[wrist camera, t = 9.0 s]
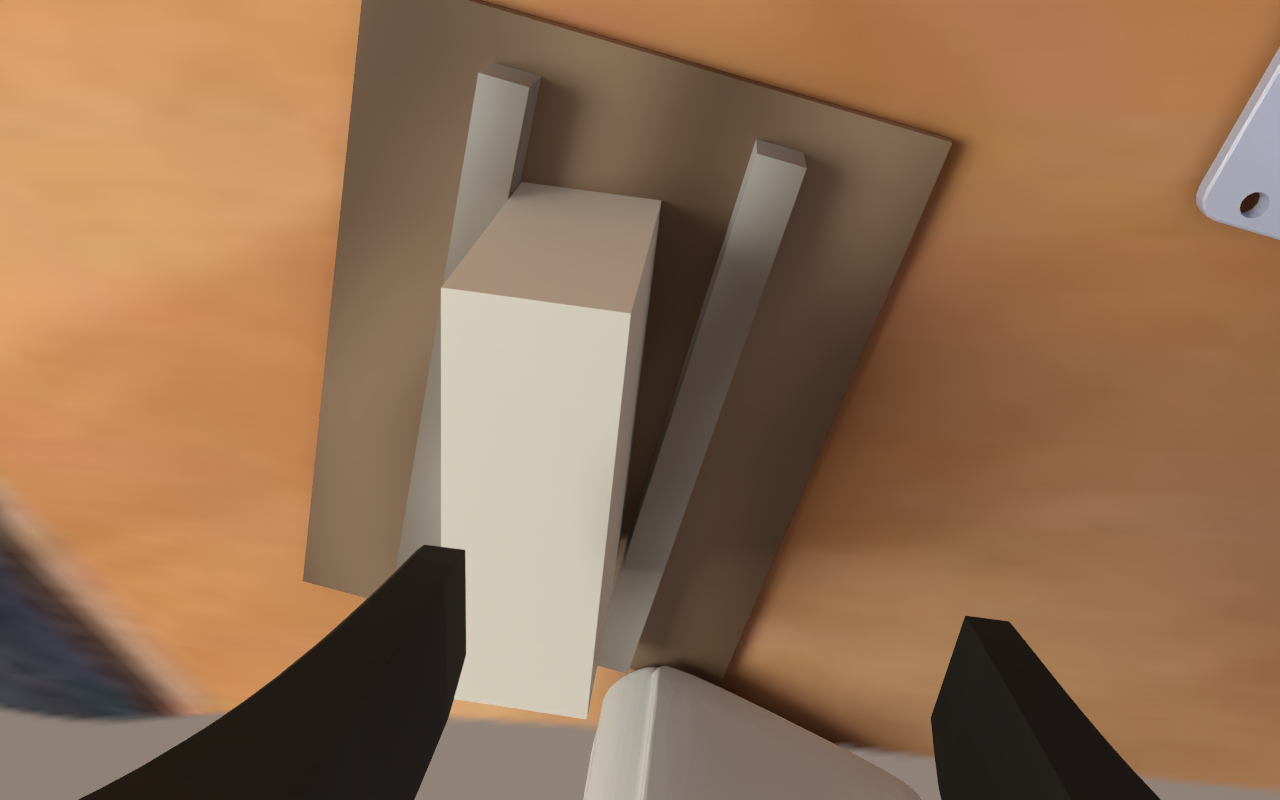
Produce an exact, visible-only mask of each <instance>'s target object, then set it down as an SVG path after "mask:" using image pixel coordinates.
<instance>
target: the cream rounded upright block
mask: <svg viewBox="0 0 1280 800" xmlns="http://www.w3.org/2000/svg"><path fill="white" fill-rule="evenodd" d="M583 800H921V799H920V797H919V796H918V795H917V794H916V793H915V792H914V790H912V789H911V788H910V787H909V786H907V785H906V784H905V783H903V782H902V781H900V780H899V779H897V778H896V777H894V776H893V775H891V774H889V773H887V772H885V771H884V770H882V769H880V768H878V767H876V766H875V765H873V764H871V763H869V762H867V761H866V760H864V759H862V758H860V757H858V756H856V755H854V754H853V753H851V752H849V751H847V750H845V749H843V748H841V747H839V746H837V745H836V744H834V743H832V742H830V741H828V740H826V739H824V738H822V737H820V736H818V735H816V734H814V733H812V732H810V731H808V730H806V729H804V728H802V727H800V726H798V725H796V724H794V723H792V722H790V721H788V720H786V719H784V718H783V717H781V716H778V715H776V714H774V713H772V712H770V711H768V710H766V709H764V708H762V707H760V706H758V705H756V704H754V703H752V702H750V701H748V700H746V699H744V698H741V697H739V696H737V695H735V694H733V693H731V692H729V691H727V690H725V689H722V688H720V687H718V686H716V685H714V684H711V683H709V682H707V681H705V680H702V679H700V678H698V677H696V676H693V675H691V674H688V673H686V672H683V671H680V670H677V669H674V668H671V667H669V666H661V667H658V668H656V667H646V668H641V669H638V670H636V671H633V672H631V673H629V674H627V675H625V676H623V677H622V678H620V679H619V680H618V681H617V682H615V683H614V684H613V685H612V686H611V688H610V689H609V690H608V692H607V693H606V695H605V697H604V700H603V703H602V708H601V714H600V720H599V726H598V729H597V732H596V735H595V739H594V743H593V748H592V753H591V758H590V764H589V769H588V776H587V782H586V787H585V793H584V799H583Z"/></svg>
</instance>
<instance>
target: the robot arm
mask: <svg viewBox="0 0 1280 800" xmlns="http://www.w3.org/2000/svg"><path fill="white" fill-rule="evenodd" d="M1254 192H1259V195H1260V198H1259V201H1258V203H1257V204H1256V205H1255V207H1254V208H1253V209H1251V210H1249V211H1246V212H1241V211H1240V206H1241V202H1242V201H1243V200H1244V199H1245V198H1246V197H1247V196H1248V195H1250V194H1252V193H1254ZM1196 204H1197V206H1198V208H1199V209H1200V211H1201V212H1202V213H1203V214H1204V215H1206V216H1207V217H1209V218H1211V219H1213V220H1214V221H1217V222H1220V223H1224V224H1227V225H1230V226H1234V227H1237V228H1241V229H1244V230H1247V231H1251V232H1254V233H1258V234H1261V235H1264V236H1268V237H1271V238H1275V239H1278V240H1280V47H1279V49H1278V51H1277V52H1276V54H1275V56H1274V58H1273V59H1272V61H1271V63H1270V64H1269V66H1268V68H1267V70H1266V71H1265V73H1264V75H1263V77H1262V78H1261V80H1260V82H1259V84H1258V85H1257V87H1256V89H1255V91H1254V92H1253V94H1252V96H1251V97H1250V99H1249V101H1248V103H1247V104H1246V106H1245V108H1244V110H1243V111H1242V113H1241V115H1240V117H1239V118H1238V120H1237V122H1236V124H1235V125H1234V127H1233V129H1232V130H1231V132H1230V134H1229V136H1228V137H1227V139H1226V141H1225V143H1224V144H1223V146H1222V148H1221V150H1220V151H1219V153H1218V155H1217V157H1216V158H1215V160H1214V162H1213V163H1212V165H1211V167H1210V169H1209V170H1208V172H1207V174H1206V176H1205V177H1204V179H1203V181H1202V183H1201V184H1200V186H1199V189H1198V191H1197V194H1196ZM465 657H466V576H465V550H462V549H454V548H447V547H439V546H432V545H423V546H422V547H420V548H419V549H417V550H416V551H415V552H414V553H413V554H412V555H411V556H410V557H409V558H408V559H407V560H406V561H405V562H404V563H403V564H402V565H401V566H400V567H399V568H398V569H397V570H396V571H395V572H394V573H393V574H392V575H391V576H390V577H389V578H388V579H387V580H386V581H385V582H384V583H383V584H382V585H381V586H380V587H379V588H378V589H377V590H376V591H375V592H374V593H373V594H372V595H371V596H370V597H369V598H368V599H366V600H365V601H364V602H363V603H362V604H361V605H360V606H359V607H358V608H357V609H356V610H355V611H354V612H352V613H351V614H350V615H349V616H348V617H347V618H346V619H345V620H344V621H342V622H341V623H340V624H339V625H338V626H337V627H336V628H335V629H334V630H333V631H331V632H330V633H329V634H328V635H327V636H326V637H325V638H324V639H322V640H321V641H320V642H319V643H318V644H316V645H315V646H314V647H313V648H312V649H310V650H309V651H308V652H307V653H305V654H304V655H303V656H302V657H301V658H299V659H298V660H297V661H296V662H294V663H293V664H292V665H291V666H290V667H288V668H287V669H286V670H285V671H283V672H282V673H281V674H280V675H279V676H277V677H276V678H275V679H273V680H272V681H271V682H269V683H268V684H267V685H265V686H264V687H263V688H261V689H260V690H259V691H258V692H256V693H255V694H253V695H252V696H251V697H249V698H248V699H247V700H245V701H244V702H242V703H241V704H240V705H238V706H237V707H235V708H234V709H232V710H231V711H229V712H228V713H227V714H225V715H224V716H222V717H221V718H219V719H218V720H216V721H215V722H213V723H212V724H210V725H209V726H207V727H206V728H204V729H203V730H201V731H199V732H198V733H196V734H195V735H193V736H191V737H190V738H188V739H187V740H185V741H183V742H182V743H180V744H178V745H177V746H175V747H173V748H172V749H170V750H168V751H167V752H165V753H163V754H162V755H160V756H158V757H157V758H155V759H153V760H152V761H150V762H149V763H147V764H145V765H143V766H142V767H140V768H138V769H136V770H134V771H133V772H131V773H129V774H127V775H125V776H123V777H121V778H120V779H118V780H116V781H114V782H112V783H110V784H108V785H106V786H105V787H103V788H101V789H99V790H97V791H95V792H93V793H91V794H89V795H87V796H85V797H83V798H81V799H79V800H414V799H415V797H416V794H417V792H418V790H419V787H420V785H421V782H422V780H423V778H424V775H425V773H426V771H427V768H428V765H429V763H430V761H431V759H432V756H433V754H434V751H435V749H436V746H437V744H438V742H439V739H440V737H441V734H442V732H443V729H444V727H445V725H446V722H447V720H448V717H449V713H450V710H451V706H452V703H453V700H454V696H455V693H456V689H457V686H458V682H459V679H460V675H461V671H462V668H463V664H464V660H465ZM931 724H932V734H933V743H934V753H935V762H936V769H937V777H938V785H939V790H940V795H941V799H942V800H1160V799H1159V797H1158V796H1157V795H1156V794H1155V793H1154V792H1153V791H1152V790H1151V789H1150V788H1149V787H1148V786H1147V785H1146V784H1145V783H1144V781H1143V780H1142V779H1141V778H1140V777H1139V776H1138V775H1137V774H1136V773H1135V772H1134V771H1133V770H1132V769H1131V768H1130V766H1129V765H1128V764H1127V763H1126V762H1125V761H1124V760H1123V759H1122V758H1121V756H1120V755H1119V754H1118V753H1117V752H1116V751H1115V750H1114V749H1113V747H1112V746H1111V745H1110V744H1109V743H1108V742H1107V741H1106V739H1105V738H1104V737H1103V736H1102V735H1101V734H1100V732H1099V731H1098V730H1097V729H1096V728H1095V727H1094V725H1093V724H1092V723H1091V722H1090V721H1089V719H1088V718H1087V717H1086V716H1085V715H1084V714H1083V712H1082V711H1081V710H1080V709H1079V707H1078V706H1077V705H1076V704H1075V703H1074V701H1073V700H1072V699H1071V698H1070V697H1069V695H1068V694H1067V693H1066V692H1065V690H1064V689H1063V688H1062V687H1061V685H1060V684H1059V683H1058V682H1057V680H1056V679H1055V678H1054V677H1053V676H1052V674H1051V673H1050V672H1049V671H1048V669H1047V668H1046V667H1045V666H1044V664H1043V663H1042V662H1041V661H1040V659H1039V658H1038V657H1037V655H1036V654H1035V653H1034V652H1033V650H1032V649H1031V648H1030V647H1029V645H1028V644H1027V643H1026V642H1025V640H1024V639H1023V638H1022V637H1021V635H1020V634H1019V633H1018V632H1017V631H1016V629H1015V628H1014V627H1013V626H1012V625H1011V623H1010V622H1008V621H1001V620H993V619H986V618H978V617H970V616H965V619H964V621H963V624H962V627H961V630H960V633H959V636H958V639H957V642H956V645H955V648H954V651H953V654H952V657H951V660H950V663H949V666H948V669H947V672H946V675H945V678H944V681H943V684H942V687H941V690H940V693H939V695H938V698H937V701H936V704H935V707H934V710H933V713H932V716H931Z"/></svg>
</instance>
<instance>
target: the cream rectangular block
mask: <svg viewBox="0 0 1280 800" xmlns="http://www.w3.org/2000/svg"><path fill="white" fill-rule="evenodd" d="M660 209H661V200H654V199H647V198H639V197H632V196H624V195H616V194H609V193H601V192H594V191H586V190H579V189H571V188H564V187H556V186H549V185H541V184H534V183H526V182H521V183H520V185H519V186H518V187H517V189H516V190H515V191H514V193H513V194H512V195H511V196H510V198H509V199H508V200H507V202H506V203H505V204H504V206H503V207H502V208H501V210H500V211H499V212H498V213H497V215H496V216H495V217H494V219H493V220H492V221H491V223H490V224H489V225H488V227H487V228H486V229H485V230H484V232H483V233H482V234H481V236H480V237H479V238H478V240H477V241H476V242H475V244H474V245H473V246H472V247H471V249H470V250H469V251H468V253H467V254H466V255H465V257H464V258H463V259H462V261H461V262H460V263H459V264H458V266H457V267H456V268H455V270H454V271H453V272H452V274H451V275H450V276H449V277H448V279H447V280H446V281H445V283H444V284H443V285H442V287H441V547H447V548H454V549H462V550H465V576H466V657H465V660H464V664H463V668H462V671H461V675H460V679H459V682H458V686H457V689H456V693H455V696H454V699H457V700H464V701H470V702H477V703H484V704H490V705H497V706H503V707H510V708H516V709H523V710H529V711H536V712H542V713H549V714H555V715H562V716H568V717H575V718H581V719H587V716H588V710H589V705H590V700H591V695H592V689H593V684H594V679H595V674H596V668H597V663H598V658H599V653H600V648H601V642H602V637H603V632H604V627H605V621H606V616H607V611H608V606H609V600H610V595H611V590H612V585H613V580H614V574H615V569H616V564H617V559H618V553H619V548H620V543H621V537H622V529H623V520H624V512H625V504H626V495H627V487H628V478H629V470H630V461H631V453H632V445H633V436H634V428H635V419H636V411H637V403H638V394H639V386H640V377H641V369H642V360H643V352H644V344H645V335H646V327H647V318H648V310H649V301H650V293H651V285H652V276H653V268H654V259H655V251H656V243H657V234H658V226H659V217H660Z"/></svg>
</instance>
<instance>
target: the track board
mask: <svg viewBox="0 0 1280 800" xmlns="http://www.w3.org/2000/svg"><path fill="white" fill-rule="evenodd" d="M952 143H953V142H952V141H951V140H950V139H949V138H947V137H944V136H941V135H937V134H934V133H930V132H927V131H924V130H920V129H917V128H913V127H910V126H907V125H903V124H900V123H896V122H893V121H890V120H886V119H883V118H879V117H876V116H873V115H869V114H866V113H862V112H859V111H856V110H852V109H849V108H845V107H842V106H839V105H835V104H832V103H828V102H825V101H822V100H818V99H815V98H811V97H808V96H805V95H801V94H798V93H794V92H791V91H788V90H784V89H781V88H777V87H774V86H771V85H767V84H764V83H760V82H757V81H753V80H750V79H747V78H743V77H740V76H736V75H733V74H730V73H726V72H723V71H719V70H716V69H713V68H709V67H706V66H702V65H699V64H696V63H692V62H689V61H685V60H682V59H679V58H675V57H672V56H668V55H665V54H662V53H658V52H655V51H651V50H648V49H645V48H641V47H638V46H634V45H631V44H628V43H624V42H621V41H617V40H614V39H611V38H607V37H604V36H600V35H597V34H594V33H590V32H587V31H583V30H580V29H577V28H573V27H570V26H566V25H563V24H559V23H556V22H553V21H549V20H546V19H542V18H539V17H536V16H532V15H529V14H525V13H522V12H519V11H515V10H512V9H508V8H505V7H502V6H498V5H495V4H491V3H488V2H485V1H481V0H362V6H361V15H360V25H359V35H358V45H357V55H356V64H355V74H354V84H353V94H352V104H351V114H350V123H349V133H348V143H347V153H346V163H345V173H344V182H343V192H342V202H341V212H340V222H339V232H338V241H337V251H336V261H335V271H334V281H333V291H332V300H331V310H330V320H329V330H328V340H327V350H326V359H325V369H324V379H323V389H322V399H321V408H320V418H319V428H318V438H317V448H316V458H315V467H314V477H313V487H312V497H311V507H310V517H309V526H308V536H307V546H306V556H305V566H304V576H303V581H305V582H309V583H312V584H316V585H320V586H324V587H327V588H331V589H335V590H339V591H342V592H346V593H350V594H354V595H357V596H361V597H365V598H369V597H370V596H371V595H372V594H373V593H374V592H375V591H376V590H377V589H378V588H379V587H380V586H381V585H382V584H383V583H384V582H385V581H386V580H387V579H388V578H389V577H390V576H391V575H392V574H393V573H394V572H395V571H396V570H397V569H398V568H399V567H400V566H401V565H402V564H403V563H404V562H405V561H406V560H407V559H408V558H409V557H410V556H411V555H412V554H413V553H414V552H415V551H416V550H417V549H419V548H420V547H422V546H423V545H432V546H439V547H441V287H442V285H443V284H444V283H445V281H446V280H447V279H448V277H449V276H450V275H451V274H452V272H453V271H454V270H455V268H456V267H457V266H458V264H459V263H460V262H461V261H462V259H463V258H464V257H465V255H466V254H467V253H468V251H469V250H470V249H471V247H472V246H473V245H474V244H475V242H476V241H477V240H478V238H479V237H480V236H481V234H482V233H483V232H484V230H485V229H486V228H487V227H488V225H489V224H490V223H491V221H492V220H493V219H494V217H495V216H496V215H497V213H498V212H499V211H500V210H501V208H502V207H503V206H504V204H505V203H506V202H507V200H508V199H509V198H510V196H511V195H512V194H513V193H514V191H515V190H516V189H517V187H518V186H519V185H520V183H521V182H526V183H534V184H541V185H549V186H556V187H564V188H571V189H579V190H586V191H594V192H601V193H609V194H616V195H624V196H632V197H639V198H647V199H654V200H661V209H660V217H659V226H658V234H657V243H656V251H655V259H654V268H653V276H652V285H651V293H650V301H649V310H648V318H647V327H646V335H645V344H644V352H643V360H642V369H641V377H640V386H639V394H638V403H637V411H636V419H635V428H634V436H633V445H632V453H631V461H630V470H629V478H628V487H627V495H626V504H625V512H624V520H623V529H622V537H621V543H620V548H619V553H618V559H617V564H616V569H615V574H614V580H613V585H612V590H611V595H610V600H609V606H608V611H607V616H606V621H605V627H604V632H603V637H602V642H601V648H600V653H599V658H598V663H597V665H598V666H602V667H605V668H609V669H613V670H617V671H620V672H624V673H628V671H629V668H631V669H634V670H638V669H641V668H646V667H656V668H658V667H661V666H669V667H671V668H674V669H677V670H680V671H683V672H686V673H688V674H691V675H693V676H696V677H698V678H700V679H702V680H705V681H707V682H709V683H711V684H714V685H716V686H718V687H719V686H720V684H721V681H722V679H723V677H724V674H725V672H726V670H727V667H728V665H729V663H730V660H731V658H732V656H733V653H734V651H735V649H736V646H737V644H738V642H739V639H740V637H741V635H742V632H743V630H744V628H745V625H746V623H747V621H748V618H749V616H750V614H751V611H752V609H753V607H754V604H755V602H756V600H757V598H758V595H759V593H760V591H761V588H762V586H763V584H764V581H765V579H766V577H767V574H768V572H769V570H770V567H771V565H772V563H773V560H774V558H775V556H776V553H777V551H778V549H779V546H780V544H781V542H782V539H783V537H784V535H785V532H786V530H787V528H788V525H789V523H790V521H791V518H792V516H793V514H794V511H795V509H796V507H797V504H798V502H799V500H800V497H801V495H802V493H803V490H804V488H805V486H806V483H807V481H808V479H809V476H810V474H811V472H812V469H813V467H814V465H815V462H816V460H817V458H818V455H819V453H820V451H821V448H822V446H823V444H824V441H825V439H826V437H827V434H828V432H829V430H830V427H831V425H832V423H833V420H834V418H835V416H836V413H837V411H838V409H839V406H840V404H841V402H842V399H843V397H844V395H845V392H846V390H847V388H848V385H849V383H850V381H851V378H852V376H853V374H854V371H855V369H856V367H857V364H858V362H859V360H860V357H861V355H862V353H863V350H864V348H865V346H866V343H867V341H868V339H869V336H870V334H871V332H872V329H873V327H874V325H875V322H876V320H877V318H878V315H879V313H880V311H881V308H882V306H883V304H884V301H885V299H886V297H887V294H888V292H889V290H890V287H891V285H892V283H893V280H894V278H895V276H896V273H897V271H898V269H899V266H900V264H901V262H902V259H903V257H904V255H905V252H906V250H907V248H908V245H909V243H910V241H911V238H912V236H913V234H914V231H915V229H916V227H917V224H918V222H919V220H920V217H921V215H922V213H923V210H924V208H925V206H926V203H927V201H928V199H929V197H930V194H931V192H932V190H933V187H934V185H935V183H936V180H937V178H938V176H939V173H940V171H941V169H942V166H943V164H944V162H945V159H946V157H947V155H948V152H949V150H950V148H951V145H952Z"/></svg>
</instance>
